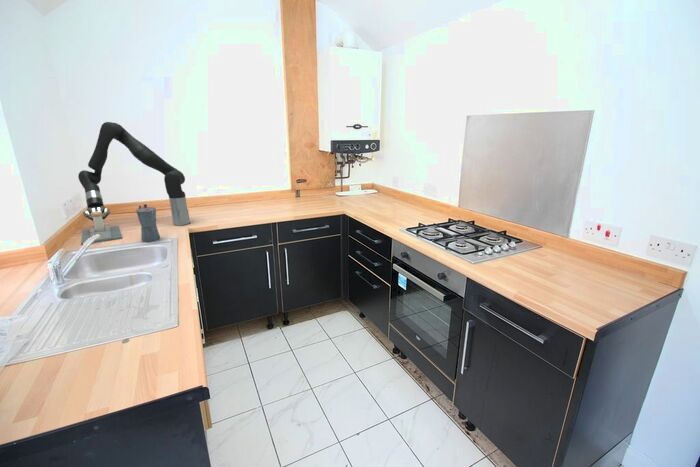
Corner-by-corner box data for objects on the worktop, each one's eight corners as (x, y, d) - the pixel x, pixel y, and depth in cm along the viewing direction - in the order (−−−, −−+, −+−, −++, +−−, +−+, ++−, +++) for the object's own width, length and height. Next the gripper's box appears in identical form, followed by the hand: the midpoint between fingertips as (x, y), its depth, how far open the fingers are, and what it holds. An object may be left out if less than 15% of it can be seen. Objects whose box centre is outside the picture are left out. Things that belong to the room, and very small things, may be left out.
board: (82, 232, 198) (82, 230, 198) (119, 226, 208) (118, 225, 208) (81, 245, 177) (81, 243, 177) (122, 238, 187) (122, 237, 187)
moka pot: (149, 244, 178) (142, 207, 172) (134, 239, 186) (126, 203, 180) (166, 239, 186) (160, 204, 180) (151, 234, 194) (145, 200, 187)
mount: (92, 235, 189) (90, 228, 188) (110, 232, 194) (109, 226, 193) (92, 241, 180) (90, 234, 179) (111, 238, 185) (110, 231, 184)
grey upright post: (96, 234, 189) (90, 211, 185) (106, 233, 192) (101, 210, 188) (96, 236, 186) (90, 213, 182) (106, 235, 188) (101, 212, 184)
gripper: (78, 197, 189) (83, 223, 183) (107, 195, 196) (113, 220, 190) (81, 205, 194) (86, 230, 189) (109, 202, 202) (114, 226, 196)
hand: (99, 225), depth 189 cm, fingers closed
